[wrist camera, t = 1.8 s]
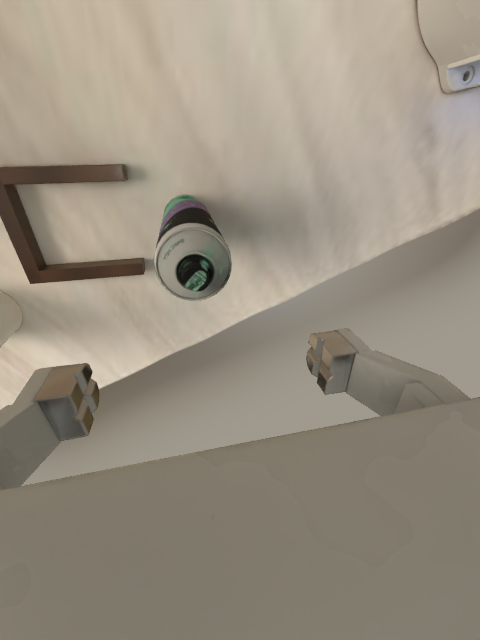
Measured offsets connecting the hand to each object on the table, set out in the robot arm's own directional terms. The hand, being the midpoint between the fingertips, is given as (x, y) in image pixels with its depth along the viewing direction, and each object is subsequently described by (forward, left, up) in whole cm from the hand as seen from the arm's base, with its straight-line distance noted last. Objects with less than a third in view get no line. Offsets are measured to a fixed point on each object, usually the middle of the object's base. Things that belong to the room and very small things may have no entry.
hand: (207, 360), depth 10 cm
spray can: (0, 0, -28) cm, 28 cm away
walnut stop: (+12, 0, -28) cm, 31 cm away
